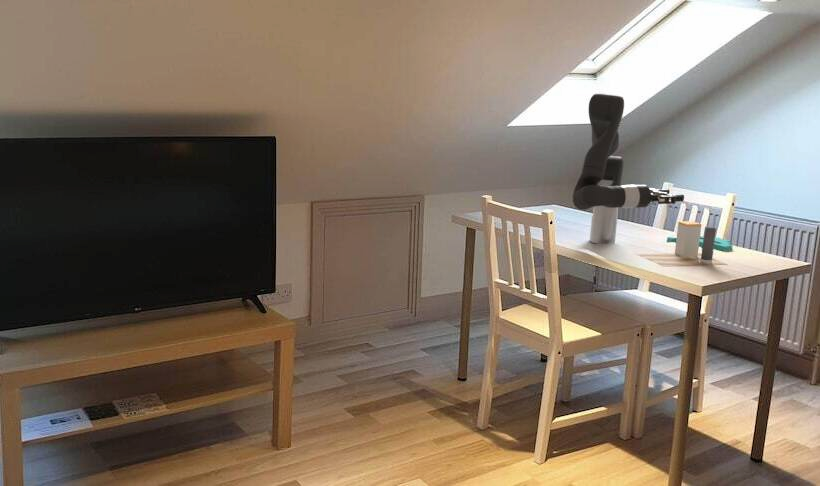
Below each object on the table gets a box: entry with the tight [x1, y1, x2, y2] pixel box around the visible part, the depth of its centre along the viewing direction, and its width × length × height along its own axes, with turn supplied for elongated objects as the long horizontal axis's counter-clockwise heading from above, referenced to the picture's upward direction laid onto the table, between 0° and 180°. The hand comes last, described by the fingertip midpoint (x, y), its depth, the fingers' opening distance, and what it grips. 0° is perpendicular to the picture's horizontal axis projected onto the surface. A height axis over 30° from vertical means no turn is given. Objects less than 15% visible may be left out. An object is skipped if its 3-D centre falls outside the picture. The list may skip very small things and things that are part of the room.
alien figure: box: [666, 235, 734, 252], centre depth 316 cm, size 20×2×20 cm
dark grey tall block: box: [700, 226, 717, 266], centre depth 279 cm, size 4×4×12 cm
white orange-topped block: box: [674, 220, 702, 257], centre depth 290 cm, size 5×6×12 cm
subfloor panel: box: [636, 252, 729, 268], centre depth 285 cm, size 17×25×2 cm
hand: (675, 195), depth 271 cm, fingers open, 8 cm apart
